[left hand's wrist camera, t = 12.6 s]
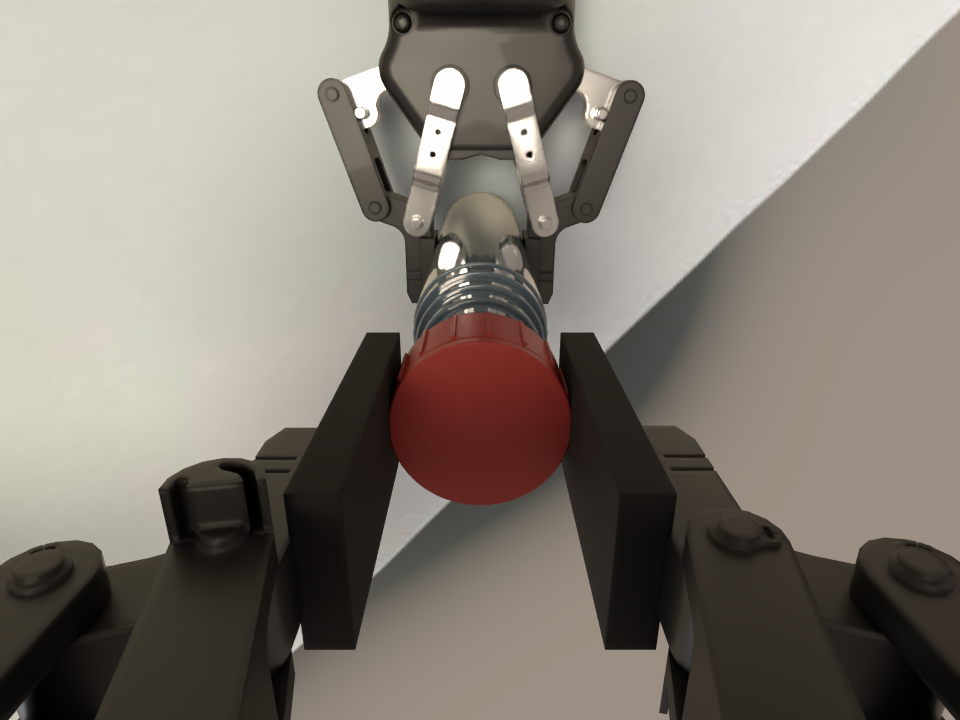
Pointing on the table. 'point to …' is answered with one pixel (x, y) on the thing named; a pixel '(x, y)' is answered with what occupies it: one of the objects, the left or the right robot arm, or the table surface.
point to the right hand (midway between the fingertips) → (480, 309)
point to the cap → (480, 410)
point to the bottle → (480, 268)
